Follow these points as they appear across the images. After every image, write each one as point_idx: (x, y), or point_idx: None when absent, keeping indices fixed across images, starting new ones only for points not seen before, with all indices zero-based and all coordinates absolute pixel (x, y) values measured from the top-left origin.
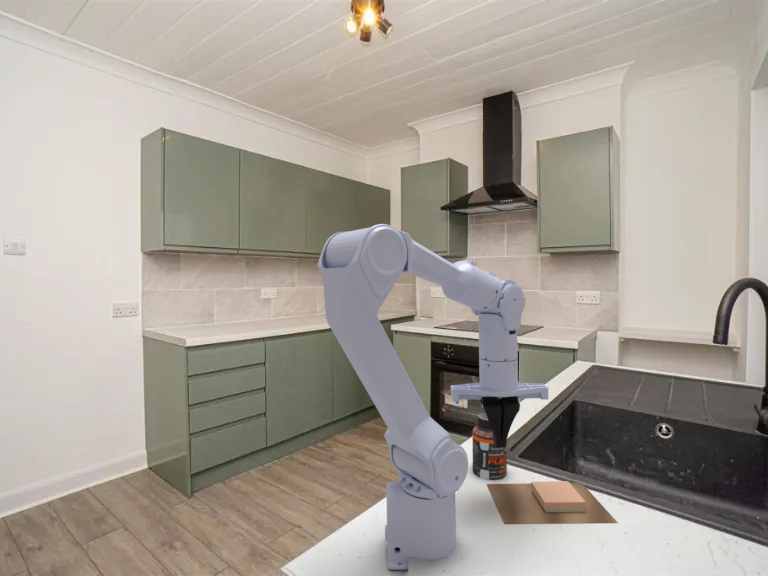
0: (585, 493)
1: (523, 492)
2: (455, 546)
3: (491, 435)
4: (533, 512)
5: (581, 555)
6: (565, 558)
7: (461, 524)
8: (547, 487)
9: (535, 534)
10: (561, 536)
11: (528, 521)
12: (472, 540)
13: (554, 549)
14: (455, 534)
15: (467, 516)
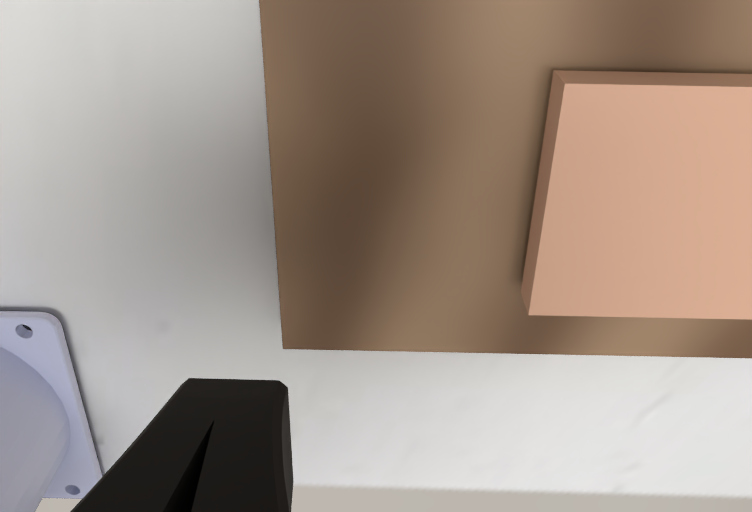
0: None
1: (489, 78)
2: (60, 462)
3: None
4: (459, 277)
5: (542, 441)
6: (475, 451)
7: (93, 267)
8: (639, 165)
9: None
10: (528, 354)
11: (404, 337)
12: (142, 363)
13: (459, 414)
14: (41, 491)
15: (123, 209)
